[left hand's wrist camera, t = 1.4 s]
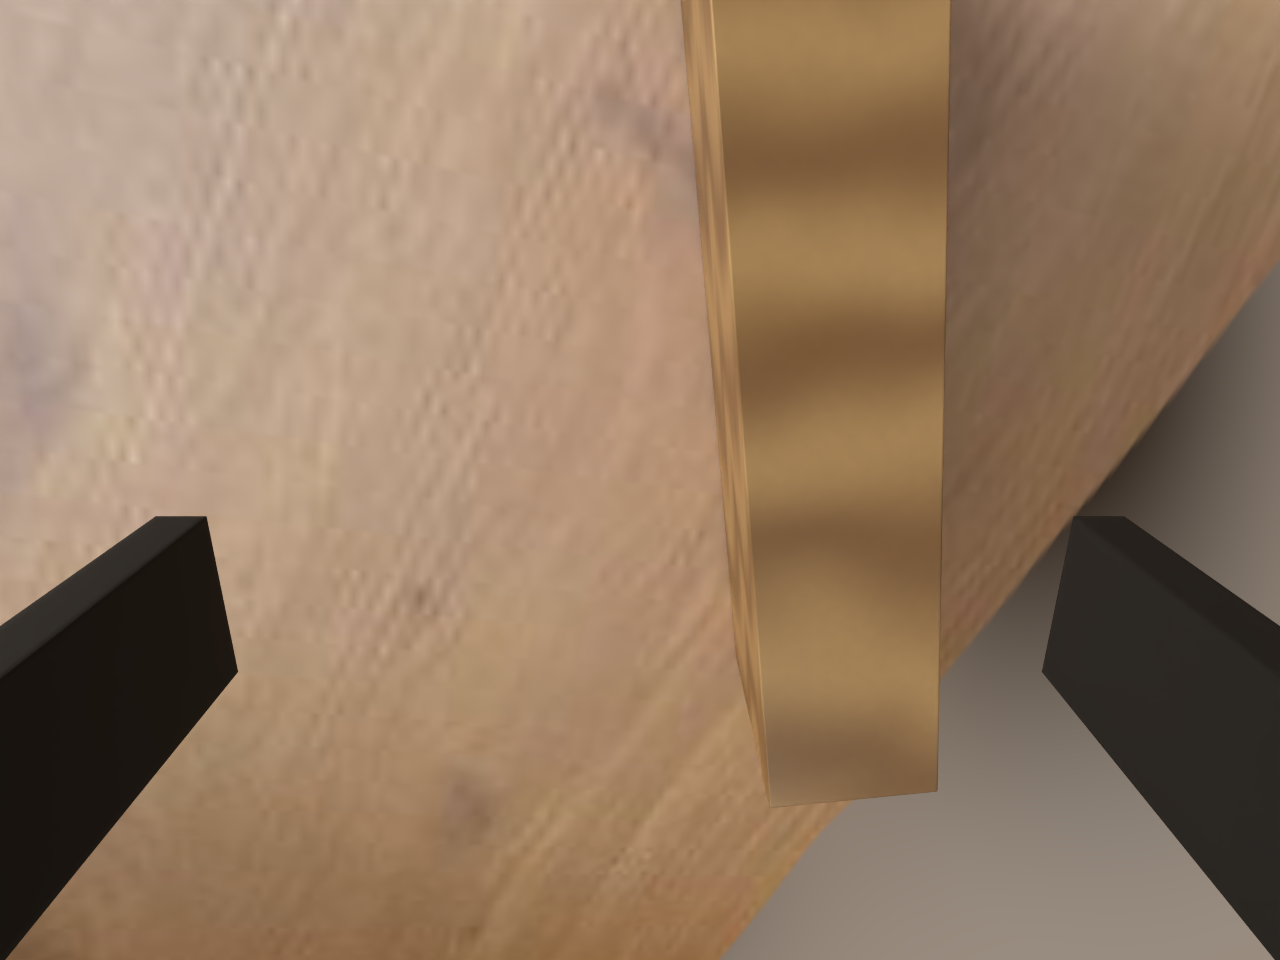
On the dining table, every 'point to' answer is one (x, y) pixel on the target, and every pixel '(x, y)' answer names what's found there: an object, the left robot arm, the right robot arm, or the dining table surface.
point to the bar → (828, 373)
